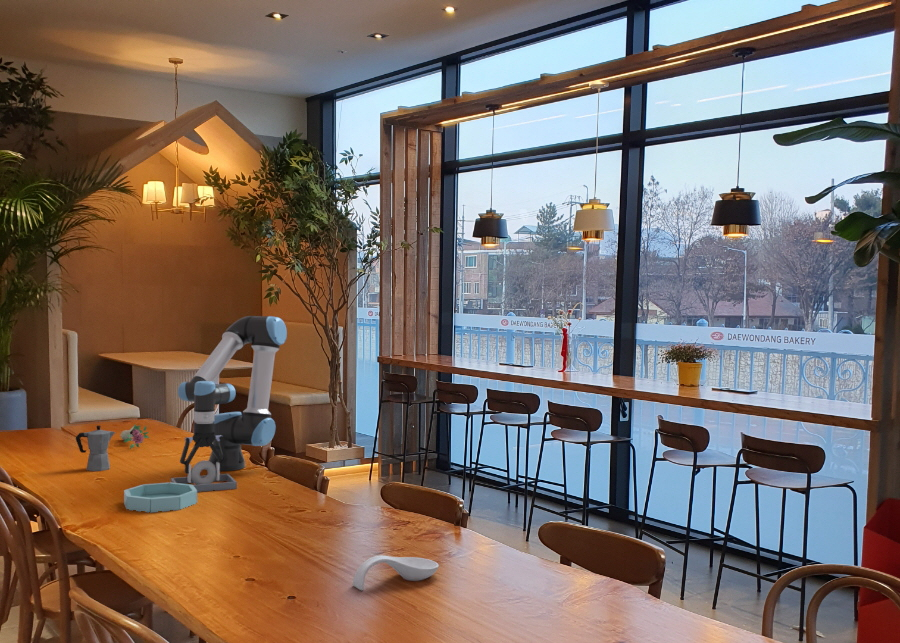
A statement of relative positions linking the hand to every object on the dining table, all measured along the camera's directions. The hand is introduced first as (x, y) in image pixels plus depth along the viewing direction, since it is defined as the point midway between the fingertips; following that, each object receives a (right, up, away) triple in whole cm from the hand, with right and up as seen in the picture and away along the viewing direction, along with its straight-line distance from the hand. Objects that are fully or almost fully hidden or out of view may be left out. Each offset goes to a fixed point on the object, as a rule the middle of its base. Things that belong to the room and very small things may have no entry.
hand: (203, 480), depth 314 cm
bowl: (-7, -3, -26) cm, 27 cm away
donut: (0, -2, 0) cm, 2 cm away
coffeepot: (-52, -1, +27) cm, 59 cm away
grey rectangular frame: (0, -2, 0) cm, 2 cm away
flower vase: (-58, +1, +80) cm, 99 cm away
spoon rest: (+80, -7, -99) cm, 127 cm away
